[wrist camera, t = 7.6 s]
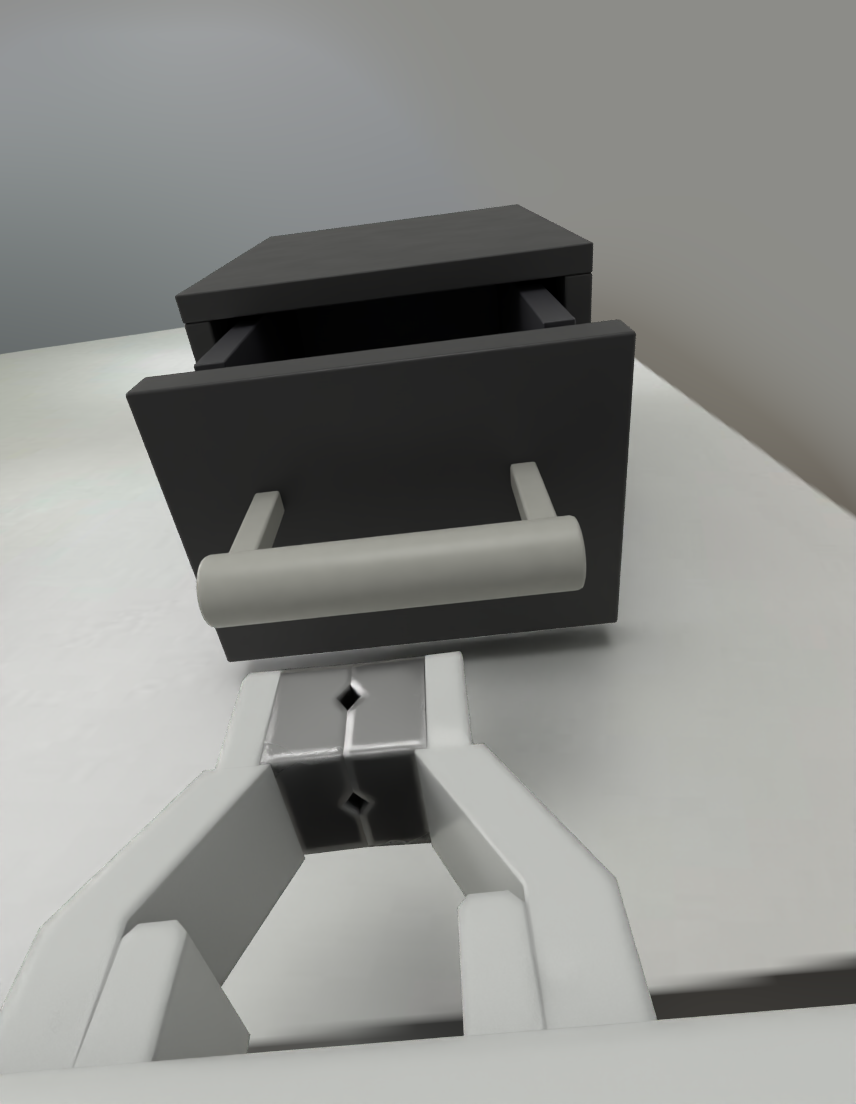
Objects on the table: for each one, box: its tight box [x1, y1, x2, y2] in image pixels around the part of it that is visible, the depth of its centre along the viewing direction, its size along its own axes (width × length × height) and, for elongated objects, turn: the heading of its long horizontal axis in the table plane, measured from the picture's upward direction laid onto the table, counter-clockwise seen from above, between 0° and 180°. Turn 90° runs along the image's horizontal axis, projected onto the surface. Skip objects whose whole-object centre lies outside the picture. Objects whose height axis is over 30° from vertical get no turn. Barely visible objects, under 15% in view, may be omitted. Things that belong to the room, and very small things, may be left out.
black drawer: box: [126, 279, 636, 662], centre depth 19 cm, size 18×11×8 cm, turn 1°
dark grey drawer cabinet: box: [175, 205, 593, 363], centre depth 27 cm, size 15×12×10 cm
